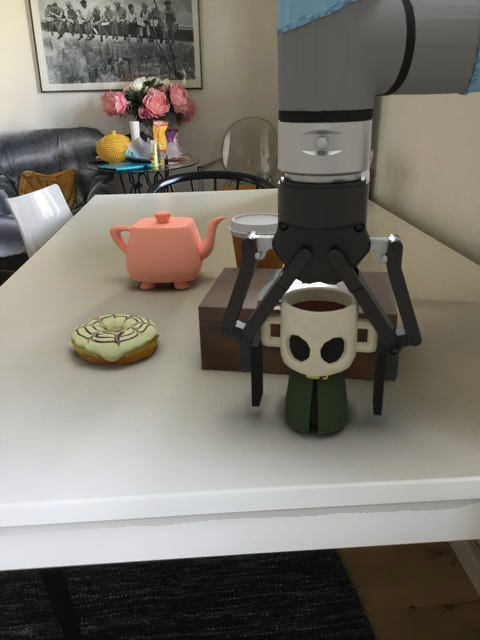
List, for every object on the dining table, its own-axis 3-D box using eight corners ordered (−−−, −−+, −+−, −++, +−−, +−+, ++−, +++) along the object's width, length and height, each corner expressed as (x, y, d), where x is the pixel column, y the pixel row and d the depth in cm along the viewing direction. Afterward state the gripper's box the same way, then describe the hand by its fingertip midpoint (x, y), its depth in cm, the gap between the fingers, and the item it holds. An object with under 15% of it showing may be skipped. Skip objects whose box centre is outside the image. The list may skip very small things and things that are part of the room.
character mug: (255, 436, 54) (253, 309, 49) (267, 398, 60) (266, 283, 55) (372, 447, 52) (382, 316, 47) (371, 407, 58) (380, 288, 53)
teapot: (105, 292, 93) (96, 220, 89) (124, 270, 104) (117, 205, 100) (226, 292, 92) (223, 219, 87) (232, 270, 103) (230, 204, 98)
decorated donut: (118, 378, 66) (114, 348, 64) (56, 357, 71) (52, 329, 70) (175, 344, 74) (173, 318, 72) (116, 328, 79) (113, 303, 78)
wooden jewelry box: (384, 327, 77) (389, 270, 74) (392, 380, 63) (398, 312, 60) (226, 320, 81) (224, 265, 78) (201, 369, 67) (197, 304, 64)
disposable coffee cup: (246, 279, 98) (244, 210, 93) (298, 286, 94) (299, 214, 89) (220, 297, 90) (217, 222, 85) (275, 305, 86) (275, 227, 81)
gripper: (174, 181, 46) (190, 415, 54) (480, 182, 42) (446, 434, 50) (197, 168, 52) (208, 378, 61) (462, 168, 48) (435, 392, 57)
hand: (316, 403), depth 55 cm, fingers closed on character mug, 11 cm apart
